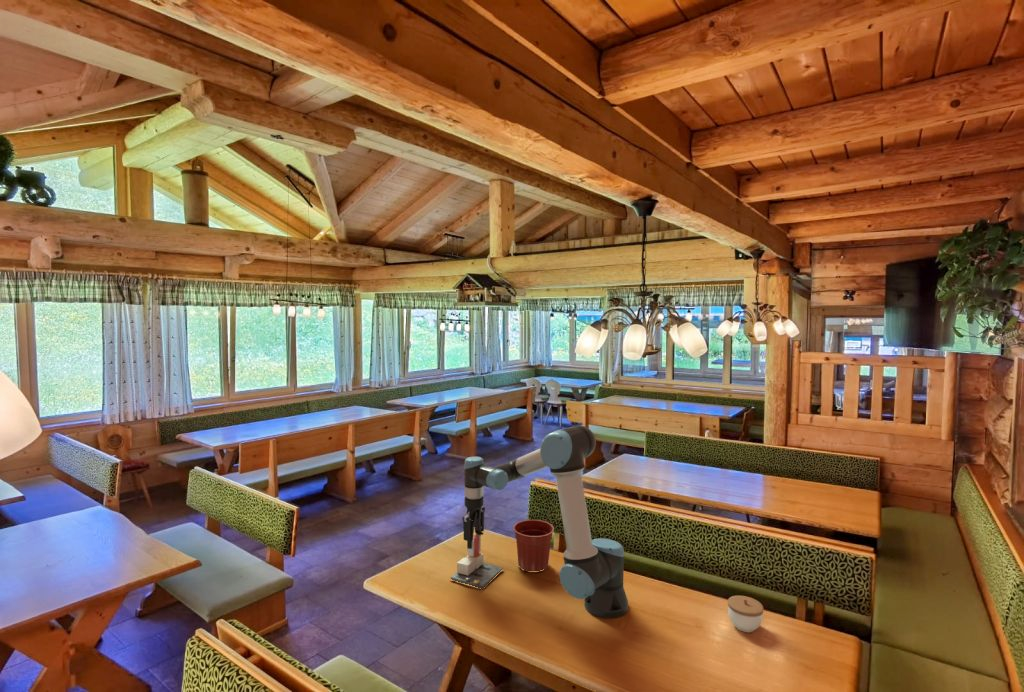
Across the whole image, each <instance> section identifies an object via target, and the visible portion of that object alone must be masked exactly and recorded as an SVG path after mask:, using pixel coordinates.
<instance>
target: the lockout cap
mask: <svg viewBox="0 0 1024 692" xmlns="http://www.w3.org/2000/svg"><path fill="white" fill-rule="evenodd" d="M473 540H474V557H477V556H479V553H480V552H479V536H477V535H474V534H473ZM470 557H472V556H470Z"/></svg>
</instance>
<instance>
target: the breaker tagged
mask: <svg viewBox="0 0 1024 692" xmlns="http://www.w3.org/2000/svg"><path fill="white" fill-rule="evenodd" d="M465 558H469V559H473V560H475V569H477V568H479V567H480V566H481V565H482V564H483V562H484V553H481V552H479V556H477V557H470V556H468V555H466V556H465Z"/></svg>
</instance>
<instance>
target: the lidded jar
mask: <svg viewBox="0 0 1024 692" xmlns="http://www.w3.org/2000/svg"><path fill="white" fill-rule="evenodd" d="M727 612H728V617H729V619H730V621H731V622H732V624H733V625H734V627H735V628H736V629H737V630H739V631H741V632H744V633H753V632H755V631H756V630H757V629H758V628H759V627H760V626H761V625H762V621H763V618H764V617H763V616H764V605H763V604H762V603H761V602H760V601H758V600H757V599H755V598H753V597H751V596H745V595H732V596H730V597H729V598H728V599H727Z"/></svg>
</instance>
